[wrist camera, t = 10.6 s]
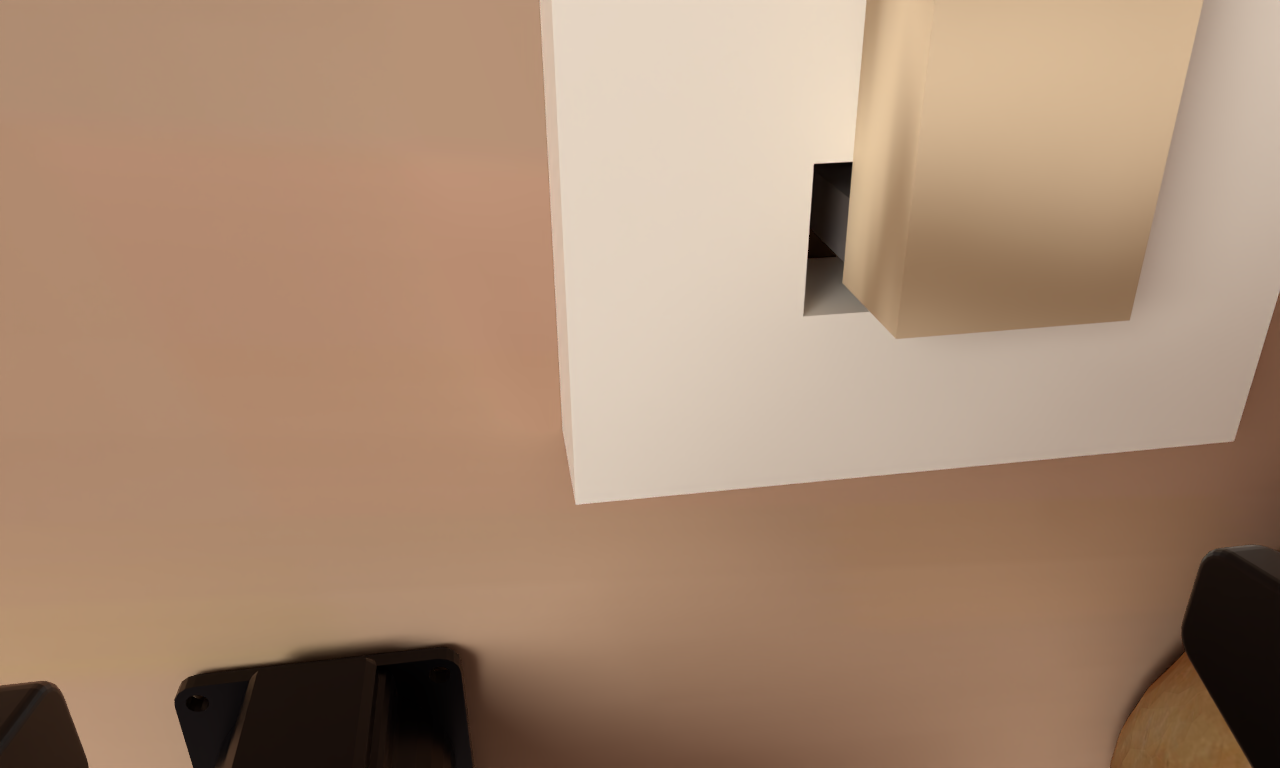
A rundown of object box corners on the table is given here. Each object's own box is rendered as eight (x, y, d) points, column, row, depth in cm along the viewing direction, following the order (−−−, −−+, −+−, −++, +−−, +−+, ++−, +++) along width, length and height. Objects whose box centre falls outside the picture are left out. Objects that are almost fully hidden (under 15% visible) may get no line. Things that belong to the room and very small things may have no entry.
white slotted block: (1146, 379, 23) (1234, 441, 21) (562, 429, 22) (575, 504, 19) (1263, -85, 19) (1392, -81, 16) (535, -73, 17) (548, -66, 14)
